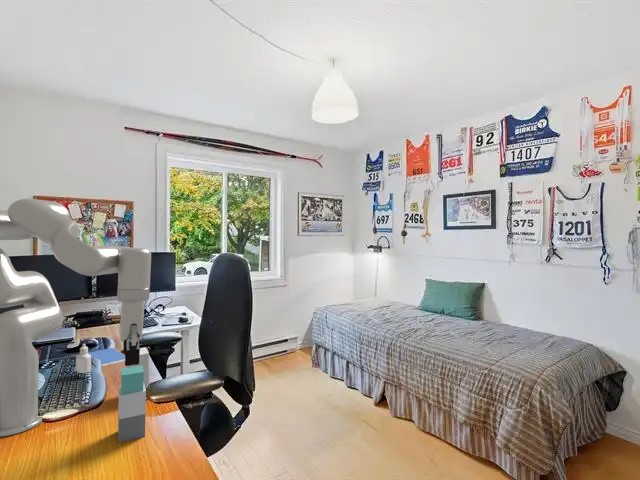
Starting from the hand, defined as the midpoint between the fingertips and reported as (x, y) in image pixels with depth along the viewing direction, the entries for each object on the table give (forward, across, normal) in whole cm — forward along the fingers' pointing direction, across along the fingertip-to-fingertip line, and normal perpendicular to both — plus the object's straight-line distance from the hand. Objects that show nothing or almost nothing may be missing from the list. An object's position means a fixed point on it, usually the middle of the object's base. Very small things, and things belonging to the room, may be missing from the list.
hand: (130, 358), depth 92 cm
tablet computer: (+22, -68, -5) cm, 72 cm away
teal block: (+8, 0, +1) cm, 8 cm away
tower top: (+14, 0, +1) cm, 14 cm away
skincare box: (+21, -22, +4) cm, 31 cm away
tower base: (+20, +1, +1) cm, 20 cm away
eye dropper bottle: (+21, -49, -12) cm, 55 cm away
